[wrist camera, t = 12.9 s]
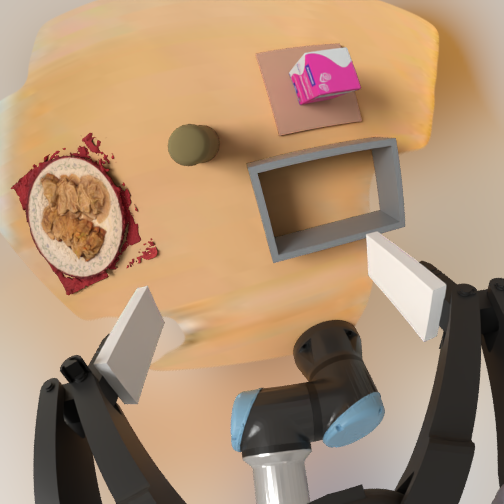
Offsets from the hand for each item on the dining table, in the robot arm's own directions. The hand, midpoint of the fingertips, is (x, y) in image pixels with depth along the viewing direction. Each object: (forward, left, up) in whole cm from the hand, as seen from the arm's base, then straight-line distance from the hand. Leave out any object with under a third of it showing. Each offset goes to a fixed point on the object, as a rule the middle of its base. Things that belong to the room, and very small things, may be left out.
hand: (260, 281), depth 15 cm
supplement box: (+14, -14, -29) cm, 35 cm away
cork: (+9, +5, -29) cm, 31 cm away
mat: (+14, -14, -29) cm, 35 cm away
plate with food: (+6, +31, -30) cm, 43 cm away
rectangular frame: (-3, -12, -29) cm, 32 cm away
